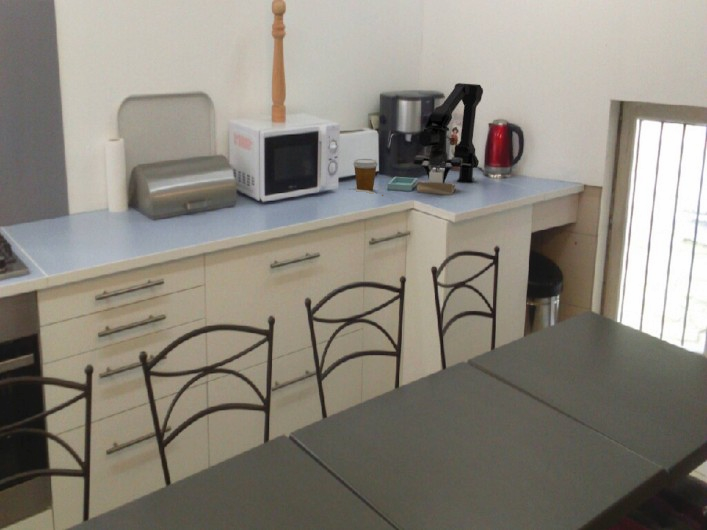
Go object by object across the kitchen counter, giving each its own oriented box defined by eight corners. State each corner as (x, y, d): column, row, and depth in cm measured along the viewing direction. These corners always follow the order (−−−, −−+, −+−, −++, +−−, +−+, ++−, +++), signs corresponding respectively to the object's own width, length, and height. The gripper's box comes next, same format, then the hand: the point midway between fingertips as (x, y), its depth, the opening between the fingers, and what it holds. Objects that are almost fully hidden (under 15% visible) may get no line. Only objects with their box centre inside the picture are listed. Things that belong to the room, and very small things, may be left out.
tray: (394, 182, 314) (394, 176, 314) (417, 184, 312) (417, 178, 311) (387, 189, 302) (387, 183, 301) (411, 191, 300) (411, 185, 299)
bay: (421, 186, 309) (422, 176, 307) (455, 188, 305) (455, 178, 304) (417, 192, 299) (417, 182, 298) (451, 194, 296) (452, 184, 294)
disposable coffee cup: (362, 187, 306) (362, 157, 302) (381, 190, 301) (382, 160, 297) (348, 191, 299) (348, 161, 295) (367, 194, 294) (368, 164, 290)
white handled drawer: (432, 187, 307) (433, 163, 304) (444, 188, 306) (445, 164, 303) (428, 192, 299) (429, 168, 296) (441, 192, 298) (442, 169, 295)
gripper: (411, 145, 292) (410, 185, 297) (460, 148, 287) (457, 188, 292) (416, 140, 302) (415, 179, 307) (463, 143, 297) (461, 182, 302)
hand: (437, 182), depth 302 cm, fingers closed on white handled drawer, 5 cm apart
